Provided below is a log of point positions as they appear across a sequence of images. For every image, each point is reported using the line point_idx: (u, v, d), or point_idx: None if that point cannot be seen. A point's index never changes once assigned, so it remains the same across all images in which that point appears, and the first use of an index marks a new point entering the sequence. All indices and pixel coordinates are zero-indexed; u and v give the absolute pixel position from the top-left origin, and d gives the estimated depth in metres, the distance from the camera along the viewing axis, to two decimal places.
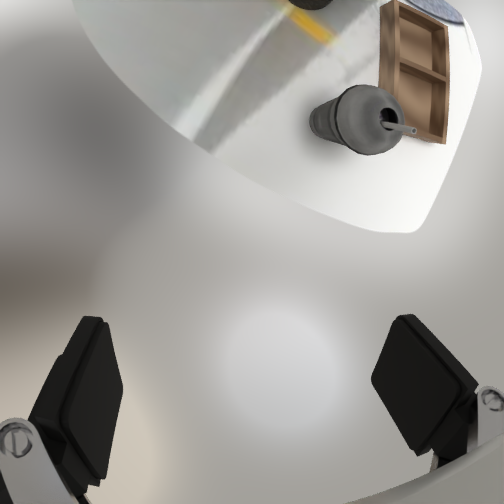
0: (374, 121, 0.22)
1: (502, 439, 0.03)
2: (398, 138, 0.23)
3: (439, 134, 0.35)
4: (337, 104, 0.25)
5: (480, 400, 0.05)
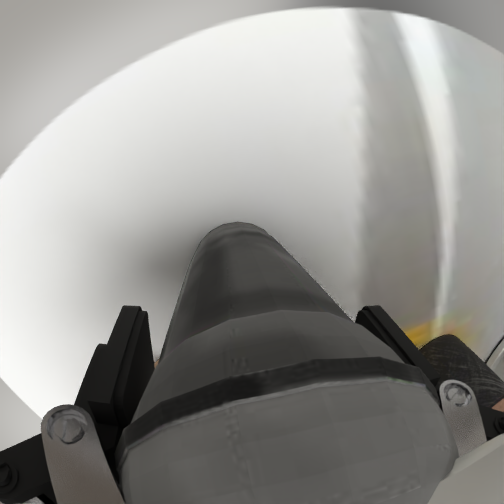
0: None
1: (502, 439, 0.03)
2: None
3: None
4: None
5: (443, 397, 0.06)
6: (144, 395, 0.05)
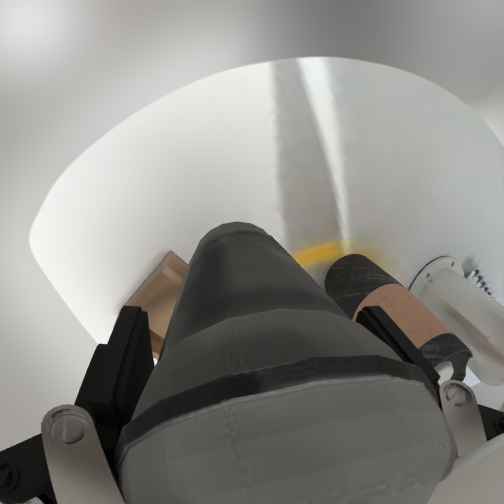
0: None
1: (502, 439, 0.03)
2: None
3: None
4: None
5: (443, 397, 0.06)
6: (143, 394, 0.05)
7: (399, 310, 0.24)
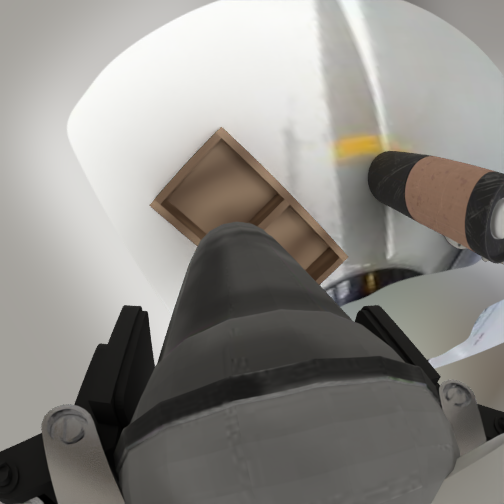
0: None
1: (502, 439, 0.03)
2: None
3: (164, 205, 0.30)
4: None
5: (443, 397, 0.06)
6: (143, 395, 0.05)
7: (450, 163, 0.22)
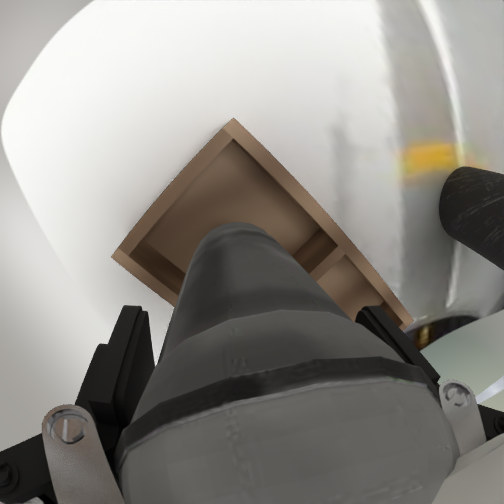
0: None
1: (502, 439, 0.03)
2: None
3: (137, 256, 0.18)
4: None
5: (443, 397, 0.06)
6: (143, 396, 0.05)
7: None
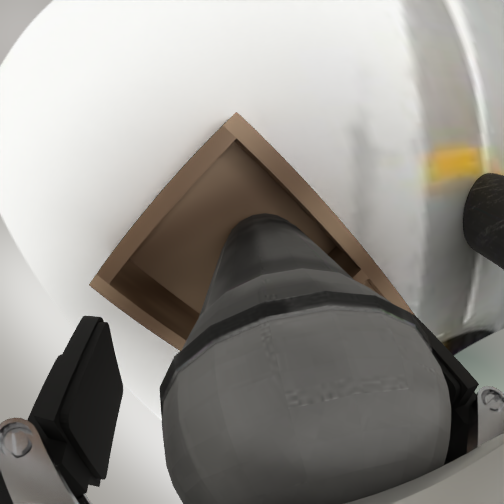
0: None
1: (502, 439, 0.03)
2: None
3: (120, 282, 0.14)
4: None
5: (480, 400, 0.05)
6: (191, 334, 0.07)
7: None
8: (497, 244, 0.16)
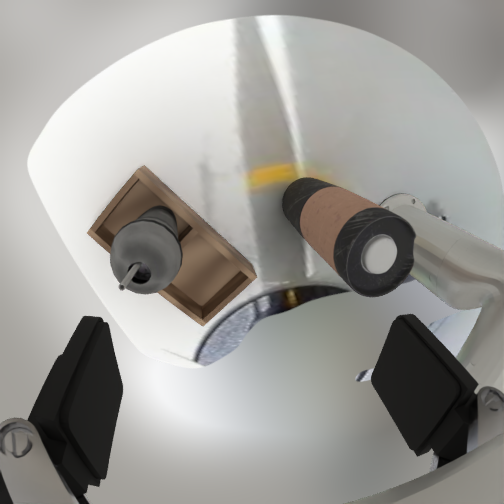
0: (144, 257, 0.24)
1: (502, 439, 0.03)
2: (116, 273, 0.25)
3: (99, 233, 0.35)
4: (174, 236, 0.27)
5: (480, 400, 0.05)
6: None
7: (338, 197, 0.28)
8: (290, 219, 0.37)
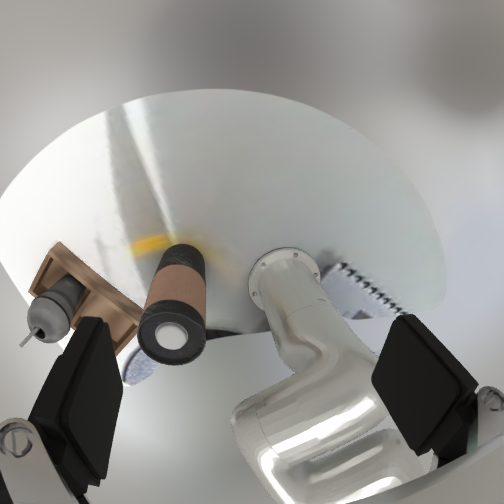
0: (39, 324, 0.32)
1: (502, 439, 0.03)
2: (30, 330, 0.33)
3: (36, 291, 0.43)
4: (61, 307, 0.35)
5: (480, 400, 0.05)
6: None
7: (160, 282, 0.35)
8: None
